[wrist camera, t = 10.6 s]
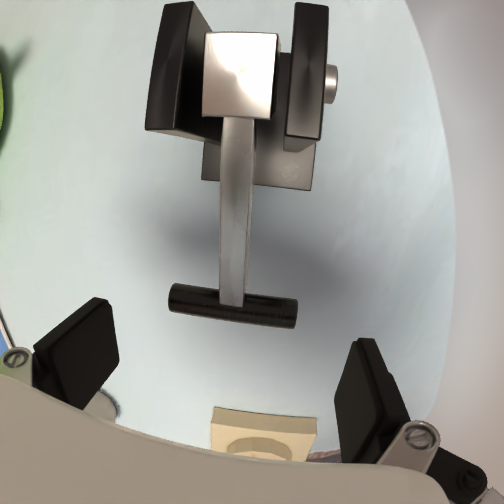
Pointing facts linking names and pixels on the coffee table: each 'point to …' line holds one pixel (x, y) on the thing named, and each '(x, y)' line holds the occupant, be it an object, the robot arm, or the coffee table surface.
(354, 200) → the coffee table surface
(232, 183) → the lever
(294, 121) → the switch bracket
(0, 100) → the teapot
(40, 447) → the robot arm
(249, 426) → the control box
